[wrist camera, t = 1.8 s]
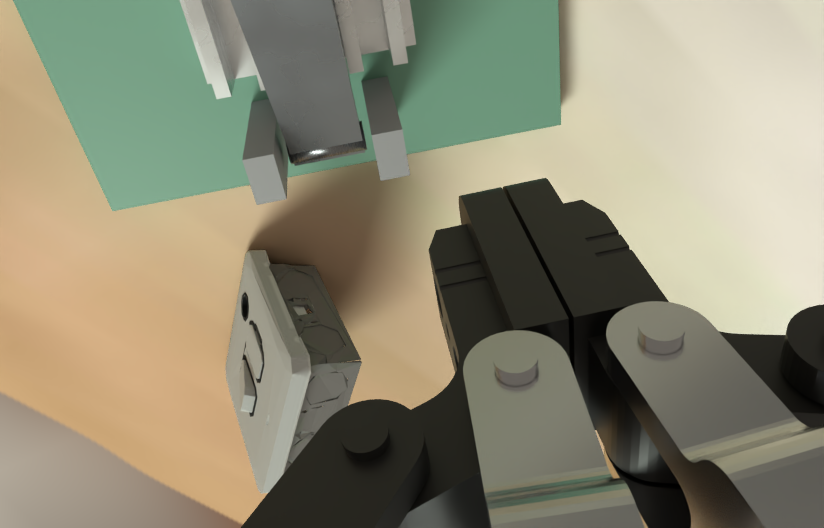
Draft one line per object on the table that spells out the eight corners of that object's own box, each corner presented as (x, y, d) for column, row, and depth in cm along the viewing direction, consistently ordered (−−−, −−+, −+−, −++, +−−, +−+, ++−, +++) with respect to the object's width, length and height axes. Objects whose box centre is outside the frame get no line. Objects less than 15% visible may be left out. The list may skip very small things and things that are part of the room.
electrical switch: (246, 240, 37) (253, 362, 29) (342, 250, 38) (370, 368, 31) (224, 368, 41) (224, 500, 34) (309, 372, 43) (327, 499, 36)
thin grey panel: (364, 132, 30) (368, 155, 29) (290, 146, 30) (293, 169, 29) (268, -314, 15) (273, -285, 15) (124, -288, 15) (123, -258, 15)
